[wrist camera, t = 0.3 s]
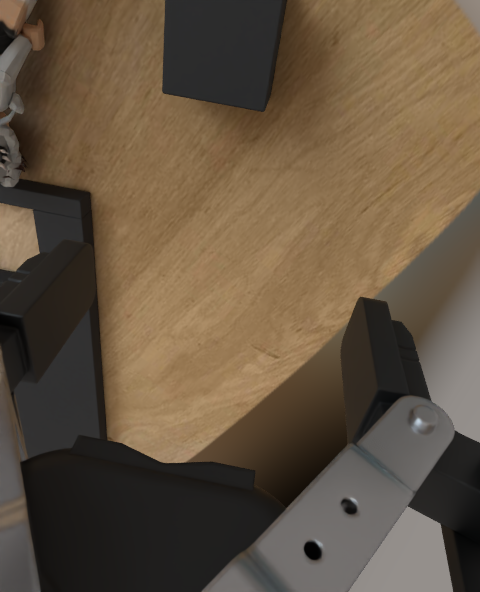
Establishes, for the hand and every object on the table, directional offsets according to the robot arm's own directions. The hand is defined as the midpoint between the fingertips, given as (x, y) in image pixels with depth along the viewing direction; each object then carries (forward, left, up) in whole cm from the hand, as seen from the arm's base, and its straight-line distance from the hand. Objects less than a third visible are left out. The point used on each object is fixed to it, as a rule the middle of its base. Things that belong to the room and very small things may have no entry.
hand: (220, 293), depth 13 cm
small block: (-5, -3, -15) cm, 16 cm away
